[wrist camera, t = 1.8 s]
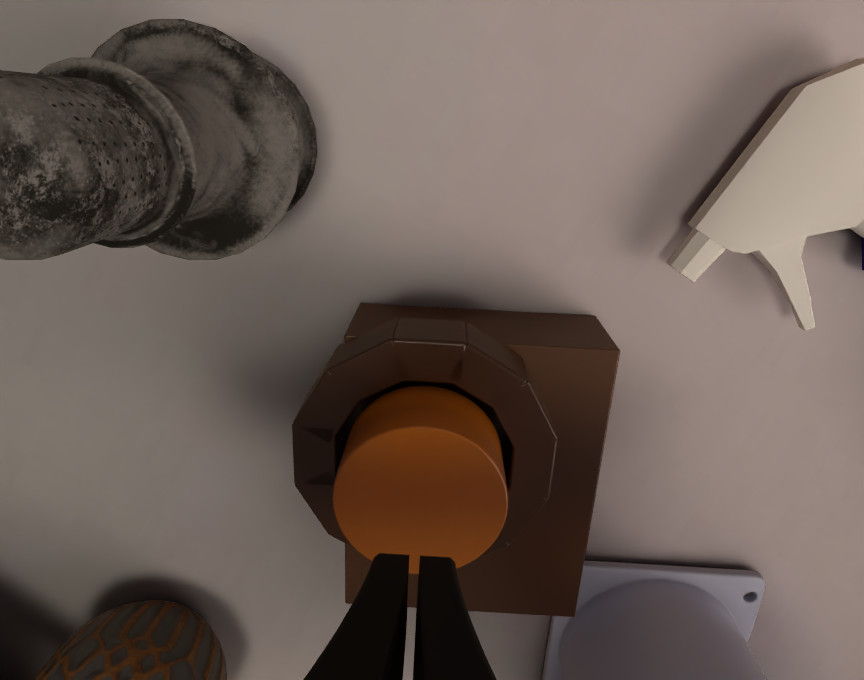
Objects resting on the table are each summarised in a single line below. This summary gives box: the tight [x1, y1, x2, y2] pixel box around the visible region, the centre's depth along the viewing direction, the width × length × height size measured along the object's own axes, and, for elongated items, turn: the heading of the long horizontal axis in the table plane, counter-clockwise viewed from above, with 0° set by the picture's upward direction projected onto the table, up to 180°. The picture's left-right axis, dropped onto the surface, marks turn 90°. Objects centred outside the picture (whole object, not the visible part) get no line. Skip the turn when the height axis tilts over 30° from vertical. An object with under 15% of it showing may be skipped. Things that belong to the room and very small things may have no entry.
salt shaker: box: [0, 19, 317, 260], centre depth 13 cm, size 6×6×12 cm
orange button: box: [332, 386, 508, 574], centre depth 16 cm, size 4×4×2 cm
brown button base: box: [292, 303, 620, 617], centre depth 20 cm, size 11×9×5 cm
